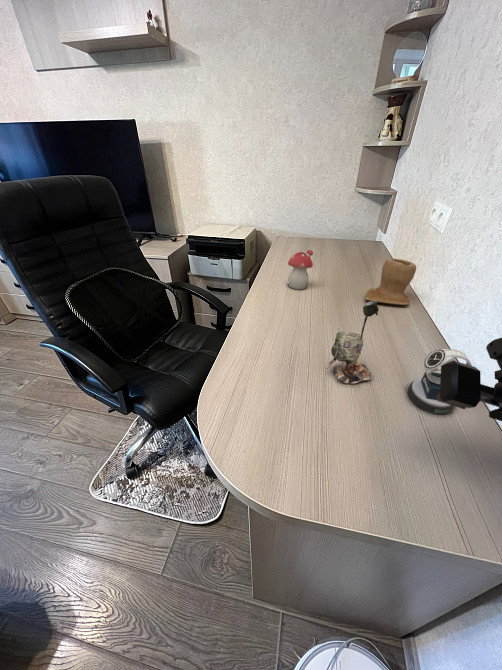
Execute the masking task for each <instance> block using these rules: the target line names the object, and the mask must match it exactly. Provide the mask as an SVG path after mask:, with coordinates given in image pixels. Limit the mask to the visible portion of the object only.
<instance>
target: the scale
mask: <svg viewBox="0 0 502 670" xmlns="http://www.w3.org/2000/svg"><path fill="white" fill-rule="evenodd" d="M422 378H423V377H419V378H416V379H414V380H412V382H410V385H409V387H408V389H407V397H408V399H409V400H410V402H411V403H412V404H413V405H415V406H416V407H417V408H418V409H420V410H422V411H423V412H426V413H428V414H433V415H441V416H442V415H447V414H449V413H450V412H451V411H452V409H454V406H452V405H449V404H446V403H442V402H439V401H437V400H432V399H426V396H425V393H424V390H423V386H422V383H421V380H422Z"/></svg>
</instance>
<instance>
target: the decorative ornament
mask: <svg viewBox="0 0 502 670" xmlns="http://www.w3.org/2000/svg"><path fill="white" fill-rule="evenodd" d="M313 255H314V251H313V250H312V249H308V250H306V252H302V251H300V252H296V253H294V254H293V255H292V256H291V257H290V258H289V260H288V262H287V265H288V266H290V267H292V268H293V269H292V270H291V271H290V273H289V274H288V287H289V288H291V289H293V290H305V289H306V287H307V285H308V283H309V280H310V279H309V278H310V276H309V273H308V271H307V270H308V269H312V268H313V266H314V263H313V260H312V258H311V256H313Z"/></svg>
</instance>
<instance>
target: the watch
mask: <svg viewBox="0 0 502 670" xmlns="http://www.w3.org/2000/svg"><path fill="white" fill-rule="evenodd" d="M455 358H456V359H462V360H464V361H465V362H466V363H465V364H467V365H470V366H473V365H472V363H471V361H470V359H469V357H468V356H467V354H466V353H464V352H463V351H461V350H458V349H452V348H444V349H442V348H438V349H437V348H436V349H434V350H432V351H431V352H429V354H427V356H426V357H425V359H424V362H423V369H424V373H423V374H422V375H423V376H422V377H421V378H422V380H421V383H422V386H423V390H424V393H425V396H426V399H432V400H437V395H438V394H439V393H440V380H441V366H442V365H443V364H445V363H448V362H451V361H453V360H455Z"/></svg>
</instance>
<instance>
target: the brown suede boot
mask: <svg viewBox="0 0 502 670" xmlns="http://www.w3.org/2000/svg"><path fill="white" fill-rule="evenodd" d="M416 271H417V265H416V264H415V263H414V262H412V261H408V260H407V259H403V258H402V259H401V258H394V257H393V258H392V257H391V258H390V257H389V258H387V259H386V260H385V262H384V264H383V265H382V268H381V276H380V284H379V286H378V287H376V288H368V289H367V291H366V293H365V298H364V300H365V301H368V302H371V301H373V300H375V301H376V302H377V303H381V304H388V305H397V306H398V305H399V306H407V305H409V304H410V299H409V297H408V296H407V295H406V294H405V291H406V289H407V287H408V286H409V285H410V284H411V282H412V281H413V279H414V277H415V274H416Z"/></svg>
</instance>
